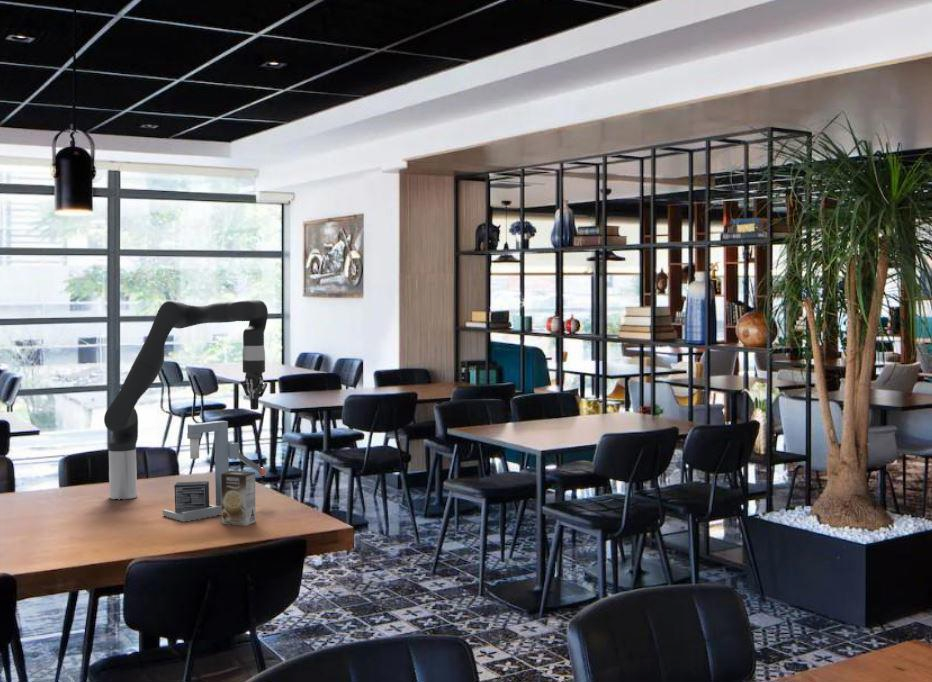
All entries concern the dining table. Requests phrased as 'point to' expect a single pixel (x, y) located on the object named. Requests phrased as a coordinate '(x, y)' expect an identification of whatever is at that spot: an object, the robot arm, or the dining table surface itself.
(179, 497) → the small box
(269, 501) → the dining table surface
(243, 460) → the lever
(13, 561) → the dining table surface
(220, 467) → the press
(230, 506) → the coffee box
